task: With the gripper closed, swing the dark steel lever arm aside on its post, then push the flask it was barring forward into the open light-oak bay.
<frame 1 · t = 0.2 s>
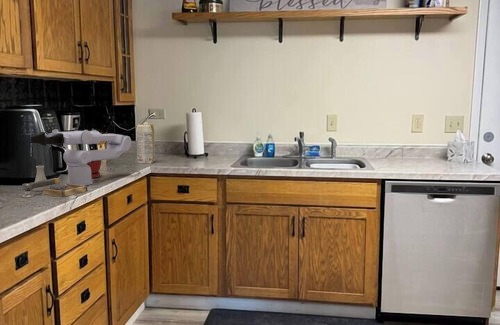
hand: (38, 140, 183), 21 cm above the worktop, tool horizontal, fingers open, 7 cm apart
plant pot: (87, 177, 224), on the worktop
lever post: (28, 196, 180), on the worktop
flask: (41, 190, 193), on the worktop
juice carton: (146, 163, 274), on the worktop
bay: (65, 192, 187), on the worktop
lever: (41, 183, 185), point 4 cm above the worktop, hinge at 0.0°
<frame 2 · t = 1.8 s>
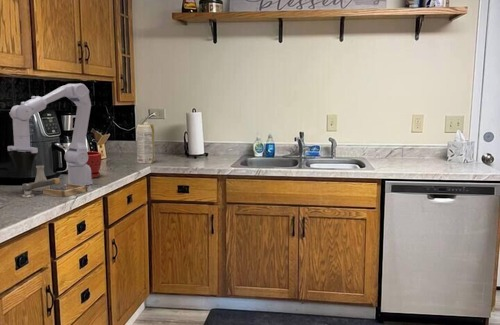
hand: (23, 170, 184), 9 cm above the worktop, tool pointing down, fingers open, 5 cm apart
nothing on the worktop moved.
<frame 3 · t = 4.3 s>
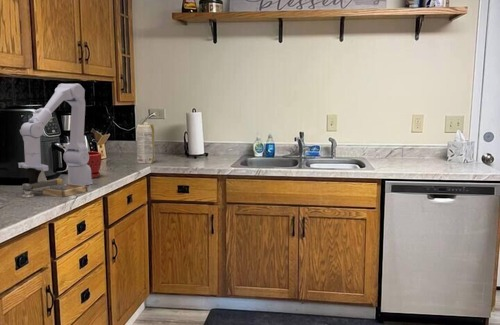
hand: (34, 187, 183), 3 cm above the worktop, tool pointing down, fingers closed, pressing on lever
lever: (42, 184, 185), point 4 cm above the worktop, hinge at -7.0°, touching gripper
everything else where it was.
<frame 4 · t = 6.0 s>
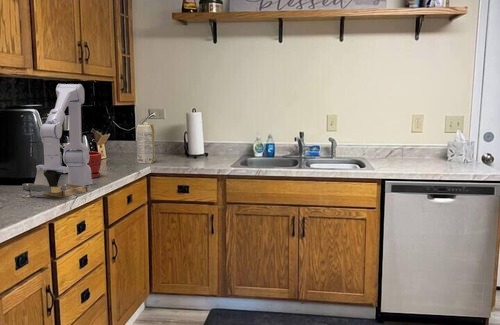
hand: (53, 189, 179), 3 cm above the worktop, tool pointing down, fingers closed, pressing on lever
lever: (41, 187, 178), point 4 cm above the worktop, hinge at -83.9°, touching gripper
everything else where it was.
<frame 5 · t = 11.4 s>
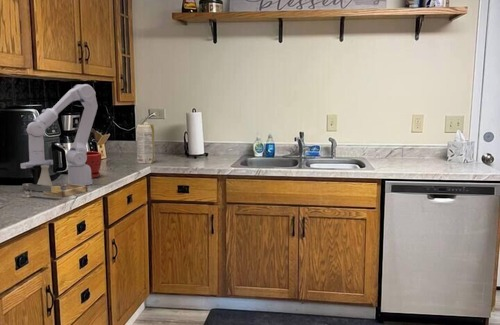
hand: (38, 183, 193), 2 cm above the worktop, tool pointing down, fingers closed, pressing on flask
flask: (44, 189, 192), on the worktop, touching gripper
lever: (41, 187, 178), point 4 cm above the worktop, hinge at -84.0°
everything else where it was.
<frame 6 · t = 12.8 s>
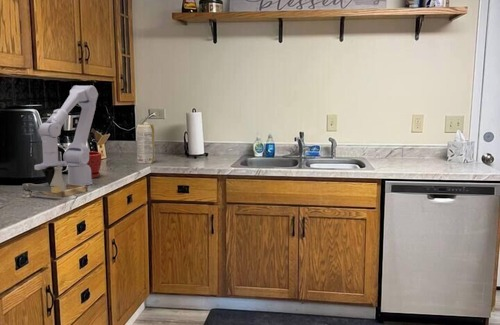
hand: (51, 185, 190), 2 cm above the worktop, tool pointing down, fingers closed, pressing on flask
flask: (57, 191, 188), on the worktop, touching gripper
everything else where it was.
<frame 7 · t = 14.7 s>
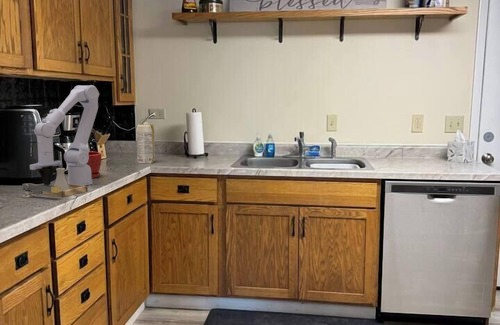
hand: (47, 184, 191), 2 cm above the worktop, tool pointing down, fingers closed
flask: (61, 193, 188), on the worktop
everything else where it was.
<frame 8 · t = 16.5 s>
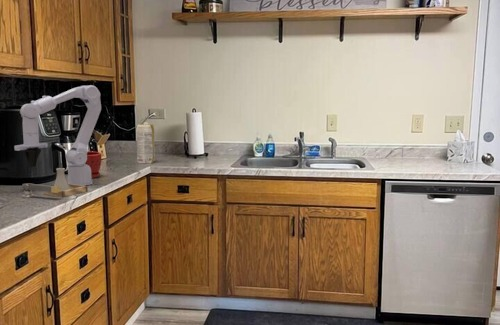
hand: (32, 166, 191), 10 cm above the worktop, tool pointing down, fingers closed
nothing on the worktop moved.
at the end: flask inside the target area (2.2 cm from its centre), on the worktop; flask tilted 0°; lever at -84° (first picture: +0°) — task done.
